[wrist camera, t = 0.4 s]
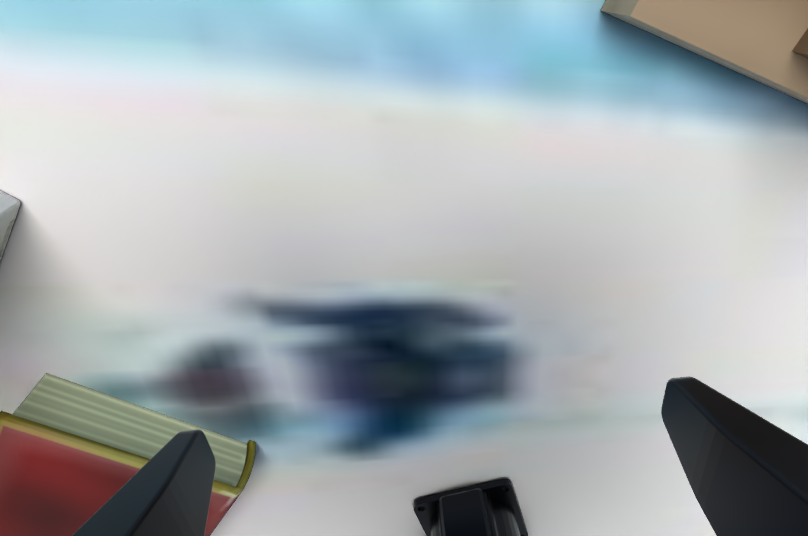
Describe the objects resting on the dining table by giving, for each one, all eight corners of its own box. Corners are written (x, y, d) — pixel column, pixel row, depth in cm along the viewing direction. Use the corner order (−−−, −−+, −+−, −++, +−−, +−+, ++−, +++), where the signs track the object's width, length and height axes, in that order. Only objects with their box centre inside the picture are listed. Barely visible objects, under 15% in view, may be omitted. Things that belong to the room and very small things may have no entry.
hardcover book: (260, 436, 30) (243, 501, 26) (146, 600, 38) (122, 665, 35) (45, 359, 26) (-9, 422, 22) (-27, 559, 35) (-73, 627, 31)
